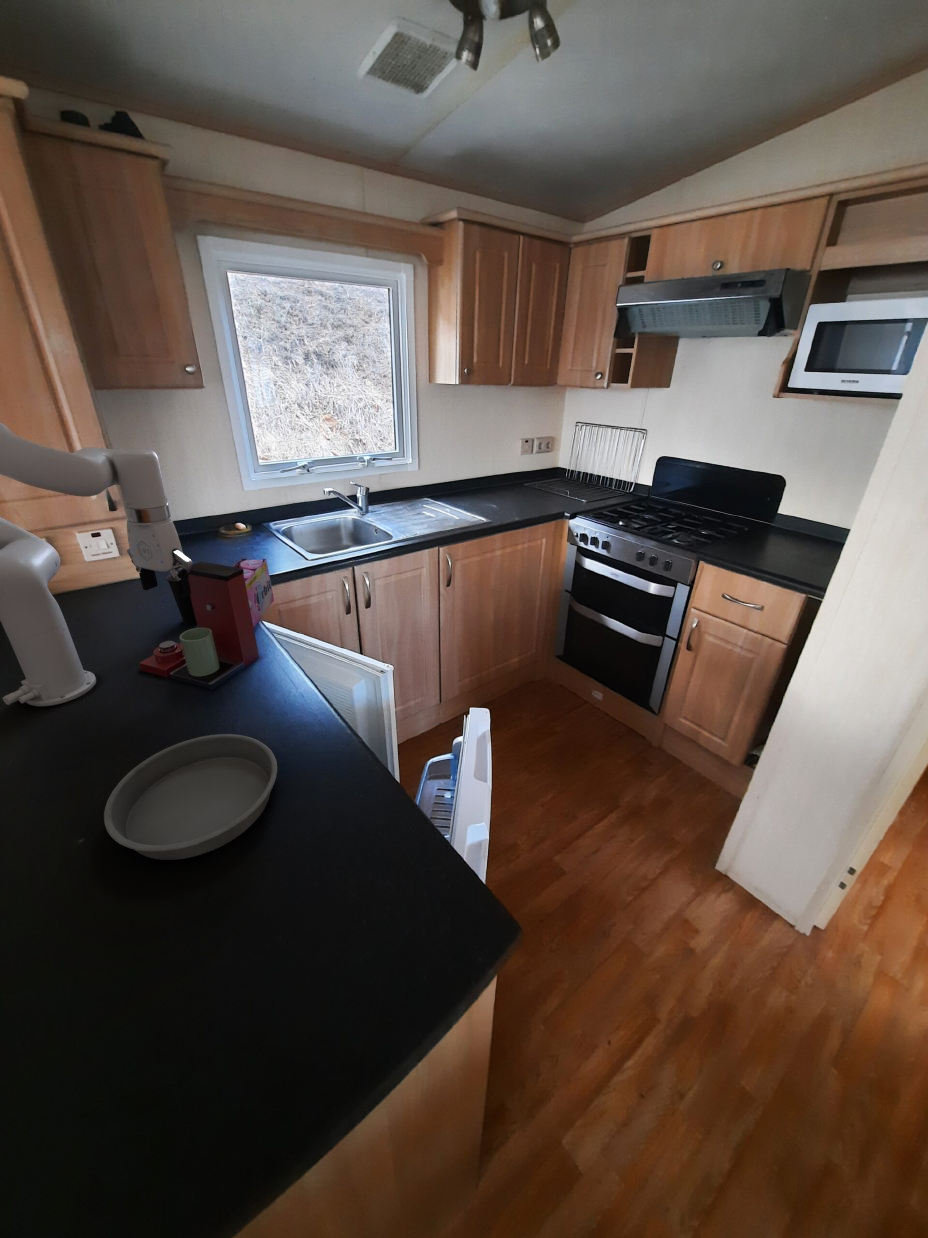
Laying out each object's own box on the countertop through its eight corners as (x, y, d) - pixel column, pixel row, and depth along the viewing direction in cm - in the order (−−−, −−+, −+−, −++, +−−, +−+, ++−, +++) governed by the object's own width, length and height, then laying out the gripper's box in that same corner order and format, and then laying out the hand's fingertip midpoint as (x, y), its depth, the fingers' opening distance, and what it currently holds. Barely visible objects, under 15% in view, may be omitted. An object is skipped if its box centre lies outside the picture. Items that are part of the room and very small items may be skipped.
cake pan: (168, 750, 94) (162, 731, 92) (300, 755, 93) (297, 735, 91) (72, 868, 72) (61, 845, 70) (244, 875, 71) (238, 852, 69)
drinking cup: (196, 629, 136) (179, 558, 128) (171, 626, 138) (153, 556, 129) (214, 617, 143) (199, 549, 134) (190, 614, 145) (174, 547, 136)
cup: (204, 678, 112) (195, 643, 108) (182, 673, 114) (172, 637, 110) (225, 664, 117) (218, 630, 113) (204, 659, 119) (196, 625, 115)
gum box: (250, 598, 155) (242, 556, 149) (276, 598, 155) (269, 556, 149) (218, 635, 133) (208, 588, 127) (249, 635, 134) (240, 588, 128)
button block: (167, 677, 115) (163, 662, 113) (141, 670, 118) (136, 656, 116) (201, 657, 124) (198, 642, 122) (176, 651, 126) (173, 636, 124)
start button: (168, 655, 117) (166, 648, 116) (157, 652, 118) (155, 645, 117) (179, 648, 120) (177, 642, 119) (169, 646, 121) (167, 639, 120)
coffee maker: (212, 690, 111) (189, 593, 101) (170, 678, 115) (143, 584, 105) (260, 657, 124) (243, 568, 114) (220, 648, 128) (200, 561, 117)
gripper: (100, 512, 101) (122, 591, 109) (164, 523, 96) (182, 605, 103) (134, 504, 108) (153, 579, 115) (196, 515, 102) (211, 593, 110)
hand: (167, 592), depth 109 cm, fingers open, 9 cm apart
